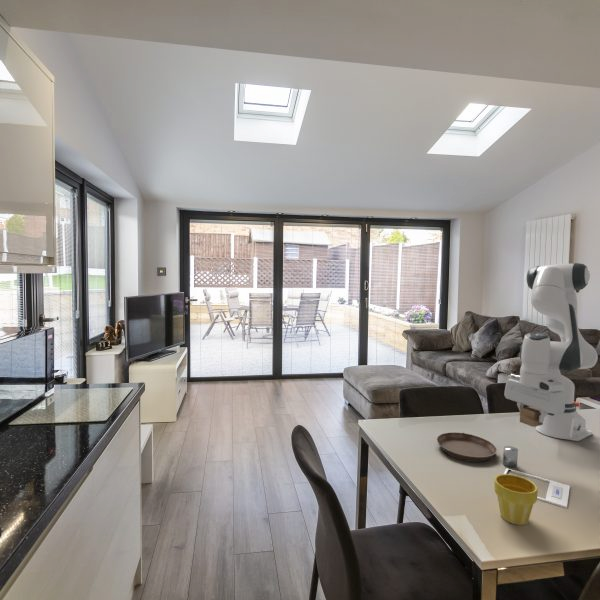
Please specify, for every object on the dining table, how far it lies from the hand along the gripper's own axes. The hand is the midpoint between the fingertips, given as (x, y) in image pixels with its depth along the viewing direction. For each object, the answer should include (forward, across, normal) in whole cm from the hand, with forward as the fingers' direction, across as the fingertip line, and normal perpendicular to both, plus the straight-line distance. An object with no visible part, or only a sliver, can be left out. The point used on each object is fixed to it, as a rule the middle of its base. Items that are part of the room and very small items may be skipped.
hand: (531, 418), depth 140 cm
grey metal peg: (+16, -2, -7) cm, 18 cm away
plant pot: (+16, +20, -34) cm, 43 cm away
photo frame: (+17, +12, -13) cm, 24 cm away
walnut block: (+2, 0, 0) cm, 2 cm away
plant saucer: (+17, -16, -13) cm, 26 cm away
